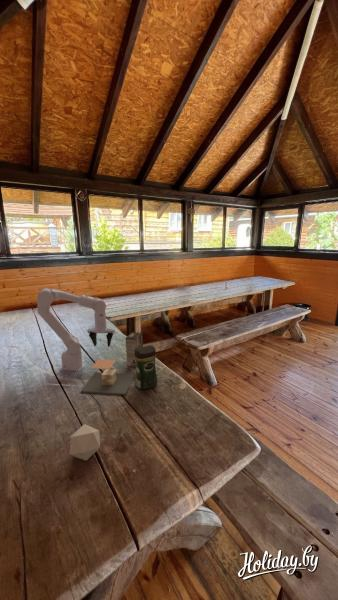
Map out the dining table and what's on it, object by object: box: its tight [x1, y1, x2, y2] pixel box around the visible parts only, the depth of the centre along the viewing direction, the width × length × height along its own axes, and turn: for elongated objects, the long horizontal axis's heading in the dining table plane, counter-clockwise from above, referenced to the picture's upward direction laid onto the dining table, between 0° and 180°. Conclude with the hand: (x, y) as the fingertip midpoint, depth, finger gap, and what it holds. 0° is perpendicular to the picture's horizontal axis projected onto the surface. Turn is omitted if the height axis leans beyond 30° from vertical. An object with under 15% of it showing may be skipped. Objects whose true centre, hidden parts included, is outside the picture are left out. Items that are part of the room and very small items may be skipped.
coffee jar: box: [134, 344, 158, 390], centre depth 110 cm, size 10×8×19 cm
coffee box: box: [125, 331, 144, 367], centre depth 131 cm, size 9×6×16 cm
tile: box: [91, 358, 116, 370], centre depth 131 cm, size 10×10×1 cm
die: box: [69, 423, 101, 461], centre depth 75 cm, size 8×9×10 cm
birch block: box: [101, 368, 117, 385], centre depth 113 cm, size 5×5×5 cm
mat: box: [80, 371, 136, 396], centre depth 113 cm, size 20×16×1 cm
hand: (102, 345), depth 132 cm, fingers open, 7 cm apart
